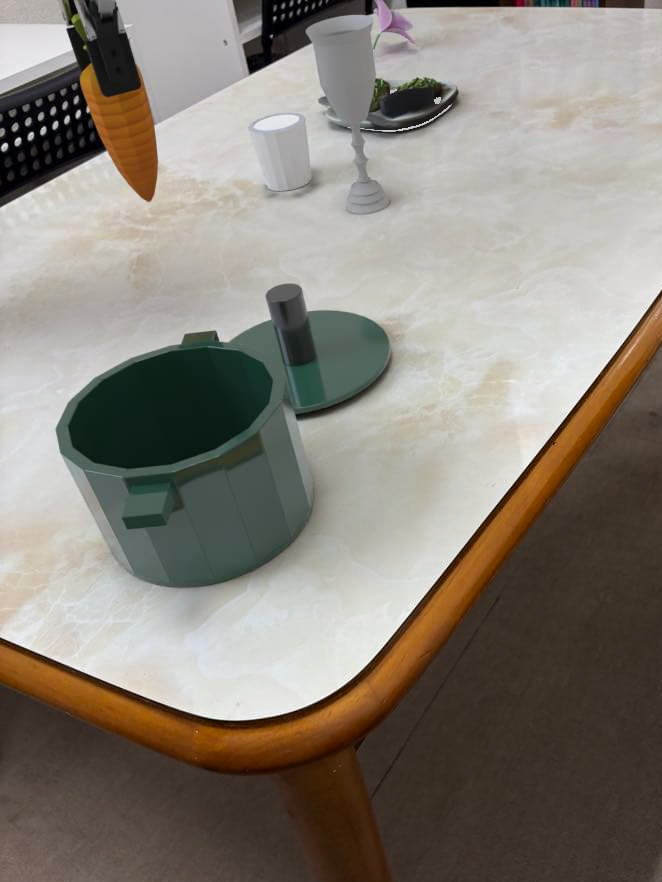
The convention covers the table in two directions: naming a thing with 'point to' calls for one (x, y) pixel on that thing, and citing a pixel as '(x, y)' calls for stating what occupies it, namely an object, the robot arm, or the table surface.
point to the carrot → (124, 128)
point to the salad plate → (402, 104)
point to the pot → (190, 461)
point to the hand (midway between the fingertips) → (111, 82)
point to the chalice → (350, 92)
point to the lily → (391, 21)
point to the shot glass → (282, 150)
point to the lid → (318, 349)
